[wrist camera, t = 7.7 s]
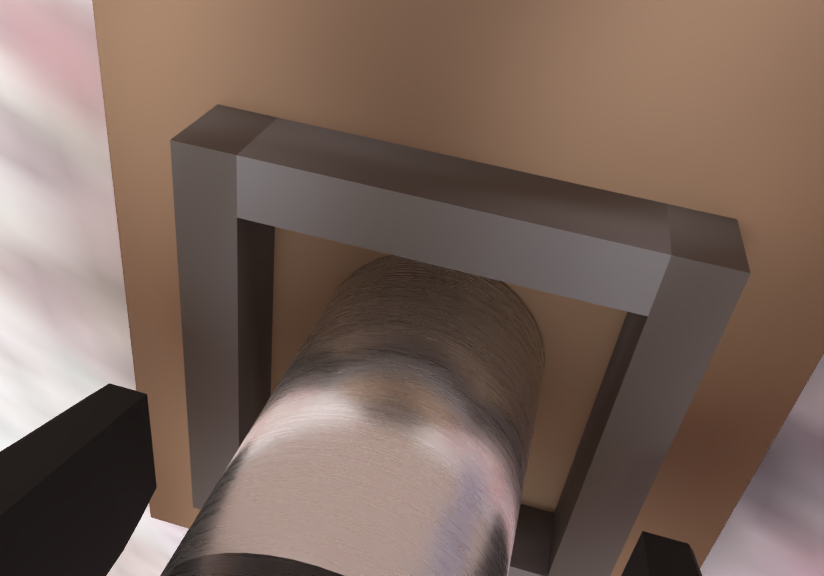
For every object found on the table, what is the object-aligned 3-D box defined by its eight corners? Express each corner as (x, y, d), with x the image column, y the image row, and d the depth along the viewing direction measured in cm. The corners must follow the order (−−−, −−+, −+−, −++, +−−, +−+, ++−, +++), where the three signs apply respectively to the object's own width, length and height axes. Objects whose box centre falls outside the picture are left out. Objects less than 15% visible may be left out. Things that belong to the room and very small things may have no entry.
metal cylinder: (569, 287, 12) (491, 801, 6) (518, 457, 14) (423, 951, 8) (331, 228, 12) (36, 644, 6) (319, 401, 15) (94, 826, 9)
